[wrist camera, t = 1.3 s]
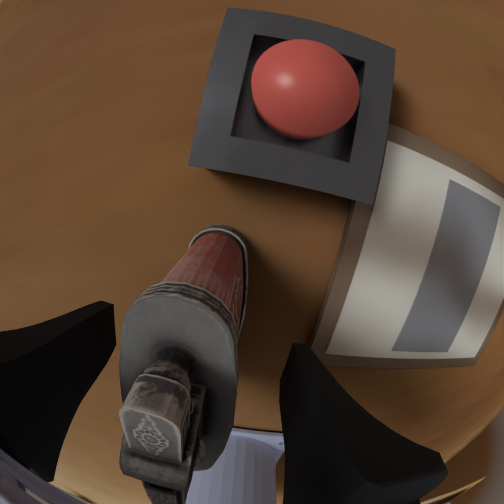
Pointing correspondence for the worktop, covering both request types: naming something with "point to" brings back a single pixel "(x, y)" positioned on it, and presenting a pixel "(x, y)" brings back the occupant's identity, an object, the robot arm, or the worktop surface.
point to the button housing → (277, 146)
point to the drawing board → (416, 265)
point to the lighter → (183, 365)
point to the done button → (304, 89)
